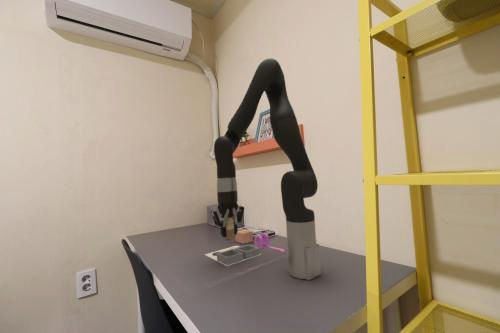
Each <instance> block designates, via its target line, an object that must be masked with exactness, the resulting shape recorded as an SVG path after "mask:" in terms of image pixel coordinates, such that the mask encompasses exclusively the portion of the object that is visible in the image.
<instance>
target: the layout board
mask: <svg viewBox="0 0 500 333" xmlns="http://www.w3.org/2000/svg"><path fill="white" fill-rule="evenodd" d="M260 250H261V249H260V248H258V247H255V246H254V245H252V244H250V243H249V244H245V245H241V246H240V245H233V246H229V247H227V248H223V249H219V250H216V251H212V252H209V253H206V254H204V256H206V257H208V258H210V259H212V260H214V261H216V262H217V263H220V264H221V265H224V266H226V267H229V266H232V265H235V264H239V263H242V262H244V261H246V260H249V259H253V258H256V257H258V256H261V255H262V254H261V251H260Z"/></svg>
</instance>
